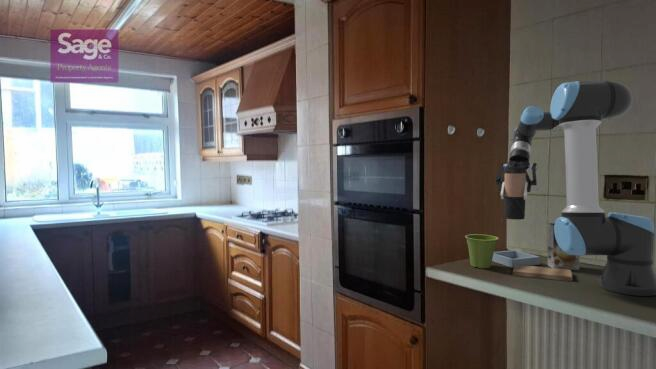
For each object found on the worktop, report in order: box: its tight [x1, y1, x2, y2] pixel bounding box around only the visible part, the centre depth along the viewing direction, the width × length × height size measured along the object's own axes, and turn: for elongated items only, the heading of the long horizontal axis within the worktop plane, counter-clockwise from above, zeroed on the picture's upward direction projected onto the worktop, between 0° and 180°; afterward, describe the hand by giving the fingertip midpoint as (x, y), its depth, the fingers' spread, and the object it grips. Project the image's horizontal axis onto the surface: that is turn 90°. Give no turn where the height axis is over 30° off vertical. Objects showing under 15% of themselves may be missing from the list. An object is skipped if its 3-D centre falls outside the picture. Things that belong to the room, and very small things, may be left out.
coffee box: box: [546, 222, 581, 271], centre depth 159 cm, size 9×6×16 cm
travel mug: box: [503, 167, 527, 221], centre depth 167 cm, size 8×8×20 cm
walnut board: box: [512, 265, 573, 282], centre depth 150 cm, size 18×10×2 cm, turn 63°
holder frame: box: [492, 249, 541, 269], centre depth 168 cm, size 13×13×3 cm
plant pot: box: [464, 233, 499, 269], centre depth 162 cm, size 12×12×11 cm
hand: (513, 197), depth 164 cm, fingers closed on travel mug, 7 cm apart
